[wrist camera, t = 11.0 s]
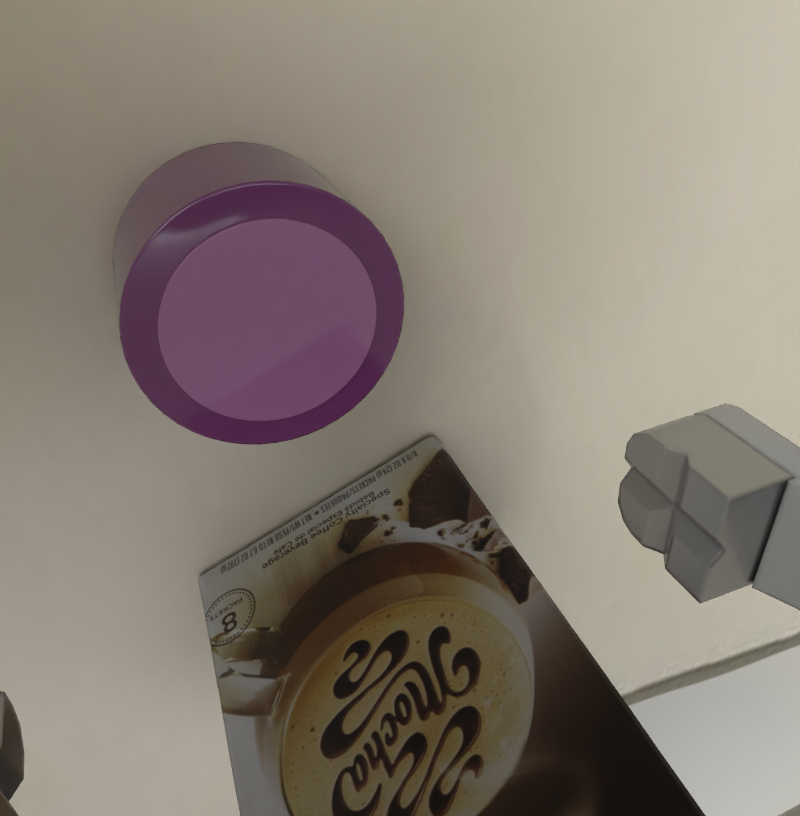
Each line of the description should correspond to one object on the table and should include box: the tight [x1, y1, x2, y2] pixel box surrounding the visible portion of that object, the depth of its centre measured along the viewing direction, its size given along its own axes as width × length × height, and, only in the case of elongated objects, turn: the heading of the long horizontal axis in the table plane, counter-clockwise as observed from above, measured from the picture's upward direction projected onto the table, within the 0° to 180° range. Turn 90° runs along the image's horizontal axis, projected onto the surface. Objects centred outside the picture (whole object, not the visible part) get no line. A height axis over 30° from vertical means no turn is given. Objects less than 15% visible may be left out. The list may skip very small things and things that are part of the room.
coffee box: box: [199, 437, 705, 816], centre depth 18 cm, size 9×6×16 cm
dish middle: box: [113, 142, 404, 444], centre depth 16 cm, size 6×6×4 cm
